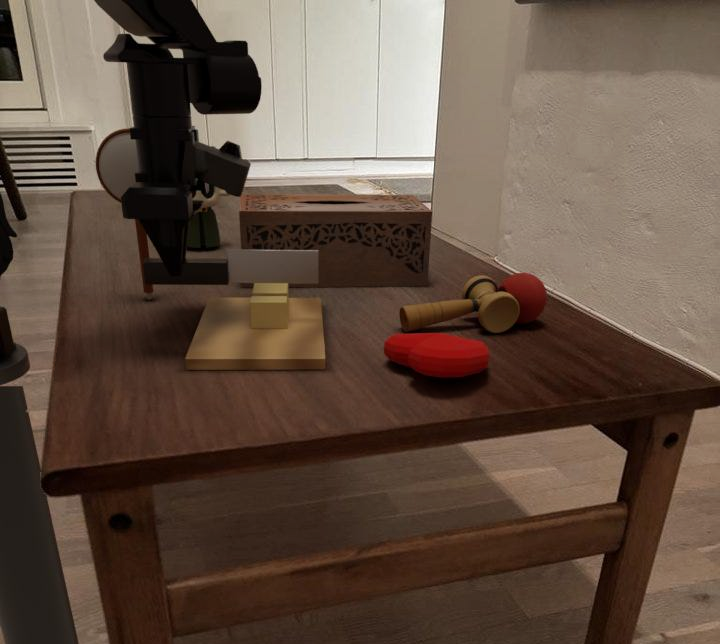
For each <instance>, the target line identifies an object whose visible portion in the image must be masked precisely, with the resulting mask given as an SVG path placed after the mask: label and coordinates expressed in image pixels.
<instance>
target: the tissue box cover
mask: <svg viewBox="0 0 720 644" xmlns="http://www.w3.org/2000/svg"><path fill="white" fill-rule="evenodd" d="M238 217H239V237H240V249H247V250H318V269H319V283H318V284H317V283H289V288H330V287H331V288H342V287H343V288H346V287H347V288H350V287H351V288H353V287H354V288H355V287H356V288H357V287H361V288H362V287H428V285H429V284H428V283H429V269H430V255H431V254H430V253H431V239H432V237H431V236H432V225H433V211H432V210H431V209H430V208H429V207H428V206H426V204H424V203H423V202H422V201H421V200H419V198H418V197H416V196H414V195H413V194H355V193H353V194H351V193H350V194H349V193H348V194H346V193H345V194H344V193H343V194H338V193H337V194H333V193H331V194H328V193H327V194H326V193H318V194H317V193H316V194H315V193H242V194H241V197H239V207H238ZM253 287H254V283H242V288H244V289H246V288H247V289H249V288H251V289H253Z"/></svg>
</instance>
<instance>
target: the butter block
mask: <svg viewBox="0 0 720 644" xmlns="http://www.w3.org/2000/svg"><path fill="white" fill-rule="evenodd" d="M289 288H290V287H289V283H254V287H253V288H252V291H251V296H287V309H289V298H290V289H289Z"/></svg>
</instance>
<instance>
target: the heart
mask: <svg viewBox="0 0 720 644" xmlns="http://www.w3.org/2000/svg"><path fill="white" fill-rule="evenodd" d="M383 354H384V355H385V356H386V358H388V359H389V361H391V362H393V363H396V364H399V365H401V366H405V367H408V368H411V369H412V370H414V371H415V372H417V373H419V374H420V375H421V374H422V375H424V376H429V377H437V378H463V377H467V376H471V375H474V374H479V373H481V372H482V371H484V370H485V369H486V368H488V365H489V362H490V348H489V347H488V345H486V343H484V341H480V340H475V339H471V338H466V337H461V336H457V335H451V334H448V333H443V332H420V333H419V332H418V333H415V332H414V333H395V334H393V335H391V336H390V337H388V338H387V339H386V340H385V341H384V344H383Z"/></svg>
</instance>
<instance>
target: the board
mask: <svg viewBox="0 0 720 644" xmlns="http://www.w3.org/2000/svg"><path fill="white" fill-rule="evenodd" d="M250 301H251V297H225V296H224V297H221V296H220V297H219V296H218V297H217V296H215V297H214V296H213V297H211V296H210V297H208V299H207V302H206V305H205V307H204V310H203V312H202V315H201V317H200V320H199V322H198V324H197V327H196V330H195V333H194V335H193V337H192V340H191V343H190V345H189V347H188V350H187V352H186V355H185V357H184V363H185V371H229V370H230V371H237V370H238V371H264V370H265V371H272V370H273V371H275V370H276V371H281V370H282V371H283V370H284V371H286V370H287V371H288V370H289V371H290V370H291V371H293V370H294V371H296V370H298V371H299V370H300V371H306V370H309V371H310V370H311V371H312V370H313V371H315V370H317V371H319V370H321V371H322V370H324V371H325V370H326V369H327V367H326V365H327V364H326V362H327V358H326V346H325V333H324V320H323V307H322V306H323V305H322V298H321V297H289V309H288V327H287V329H252V328H251V311H250Z"/></svg>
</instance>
